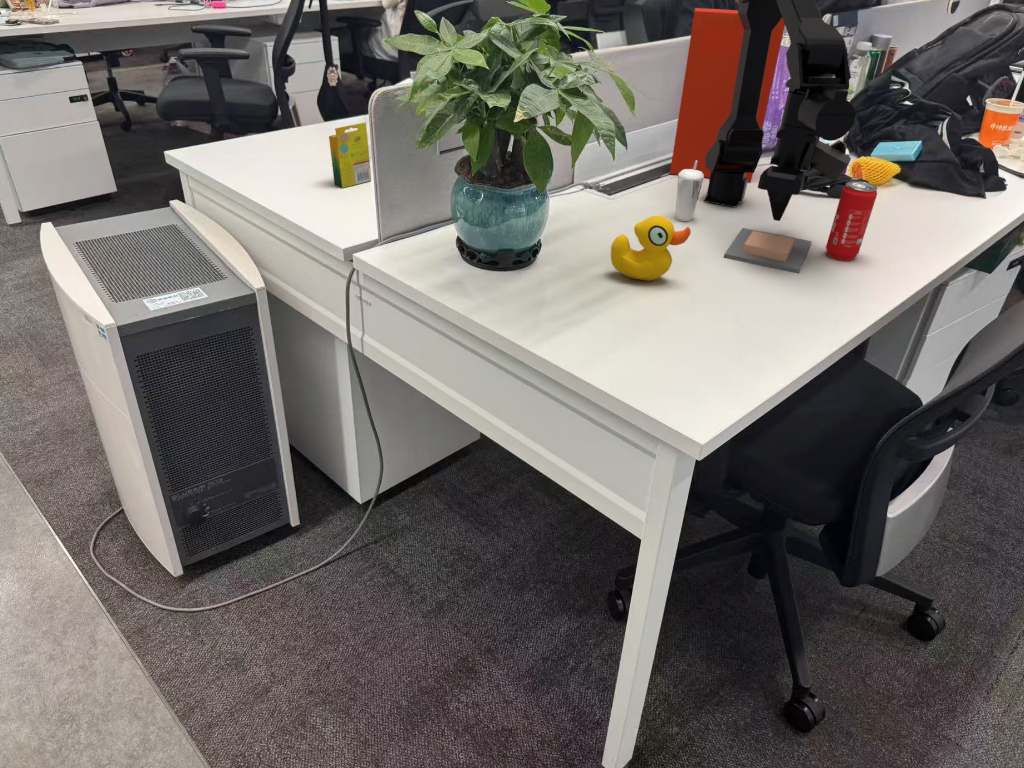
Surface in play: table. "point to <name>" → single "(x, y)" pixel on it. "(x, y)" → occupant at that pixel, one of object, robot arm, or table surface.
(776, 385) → the table surface
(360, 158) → the crayon box
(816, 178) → the cable
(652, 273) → the duckling
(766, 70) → the file binder
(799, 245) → the mat
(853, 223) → the beverage can
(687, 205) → the milkshake
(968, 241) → the table surface
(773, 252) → the tile
